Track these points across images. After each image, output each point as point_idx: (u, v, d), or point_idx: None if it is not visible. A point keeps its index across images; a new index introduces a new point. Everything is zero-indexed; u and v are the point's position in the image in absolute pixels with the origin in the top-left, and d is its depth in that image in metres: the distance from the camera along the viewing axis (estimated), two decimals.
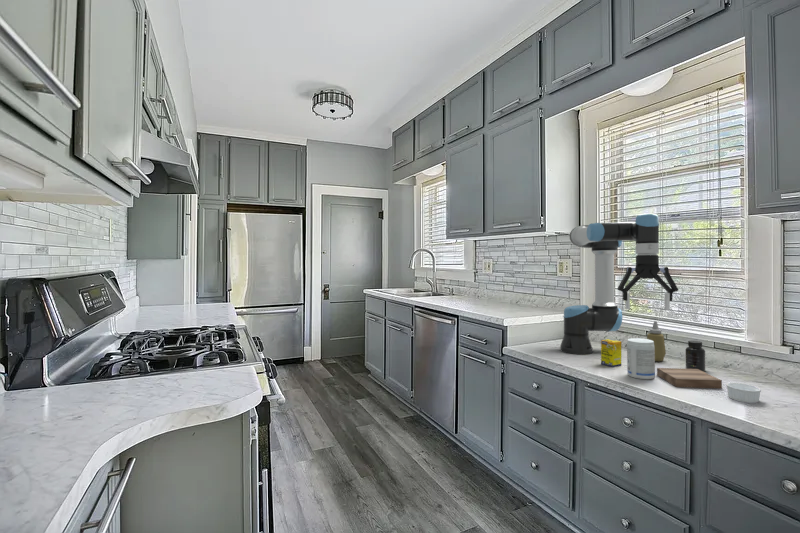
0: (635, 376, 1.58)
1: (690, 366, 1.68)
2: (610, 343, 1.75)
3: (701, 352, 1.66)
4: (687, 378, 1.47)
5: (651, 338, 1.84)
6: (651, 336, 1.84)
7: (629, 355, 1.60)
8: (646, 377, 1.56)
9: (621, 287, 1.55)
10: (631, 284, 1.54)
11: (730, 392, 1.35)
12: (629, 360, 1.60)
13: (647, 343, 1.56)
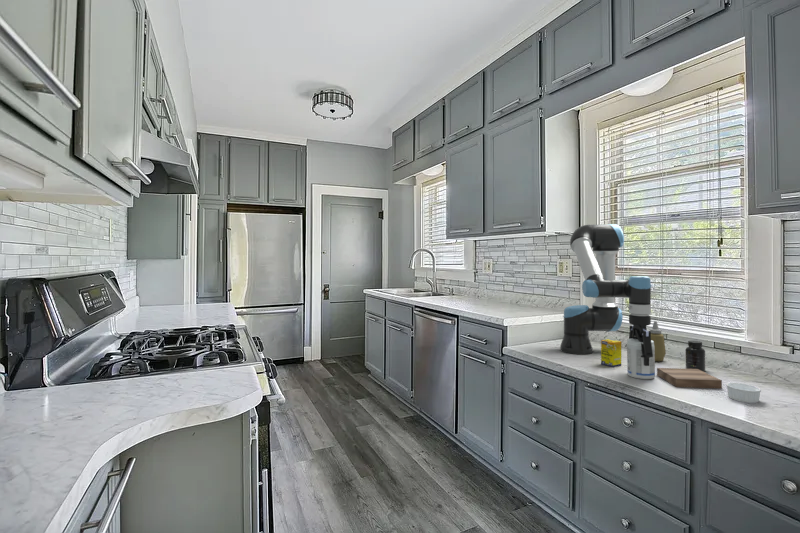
0: (635, 376, 1.58)
1: (690, 366, 1.68)
2: (610, 343, 1.75)
3: (701, 352, 1.66)
4: (687, 378, 1.47)
5: (651, 338, 1.84)
6: (651, 336, 1.84)
7: (629, 355, 1.60)
8: (646, 377, 1.56)
9: None
10: None
11: (730, 392, 1.35)
12: (629, 360, 1.60)
13: None
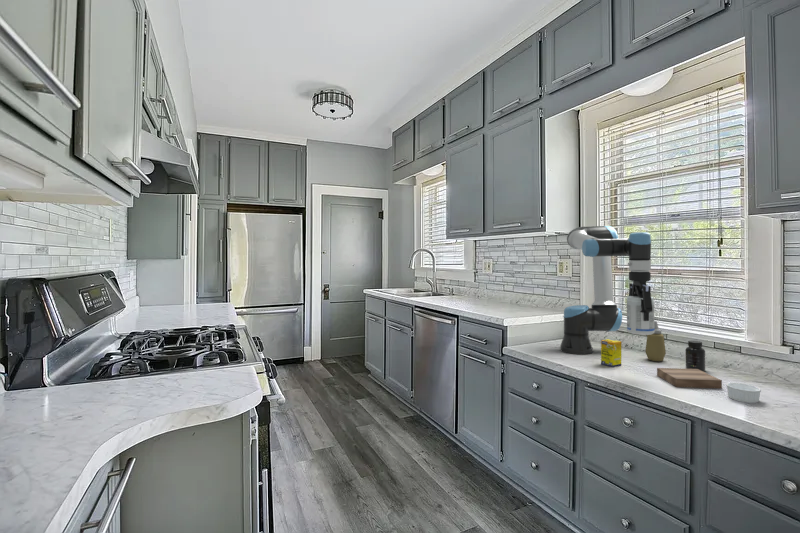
0: (634, 332, 1.58)
1: (690, 366, 1.68)
2: (610, 343, 1.75)
3: (701, 352, 1.66)
4: (687, 378, 1.47)
5: (651, 338, 1.84)
6: (651, 336, 1.84)
7: (629, 312, 1.60)
8: (645, 332, 1.56)
9: None
10: None
11: (730, 392, 1.35)
12: (629, 317, 1.60)
13: None
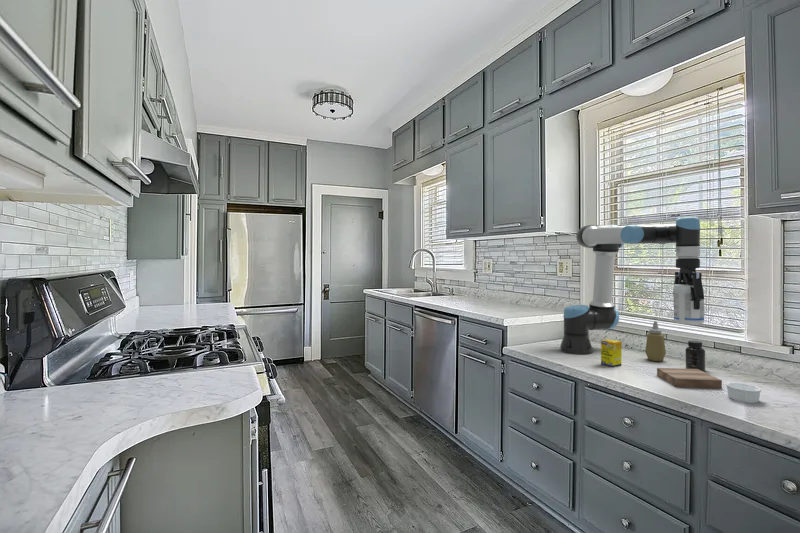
0: (683, 321, 1.50)
1: (690, 366, 1.68)
2: (610, 343, 1.75)
3: (701, 352, 1.66)
4: (687, 378, 1.47)
5: (651, 338, 1.84)
6: (651, 336, 1.84)
7: (676, 300, 1.52)
8: (696, 322, 1.48)
9: None
10: None
11: (730, 392, 1.35)
12: (676, 305, 1.52)
13: None
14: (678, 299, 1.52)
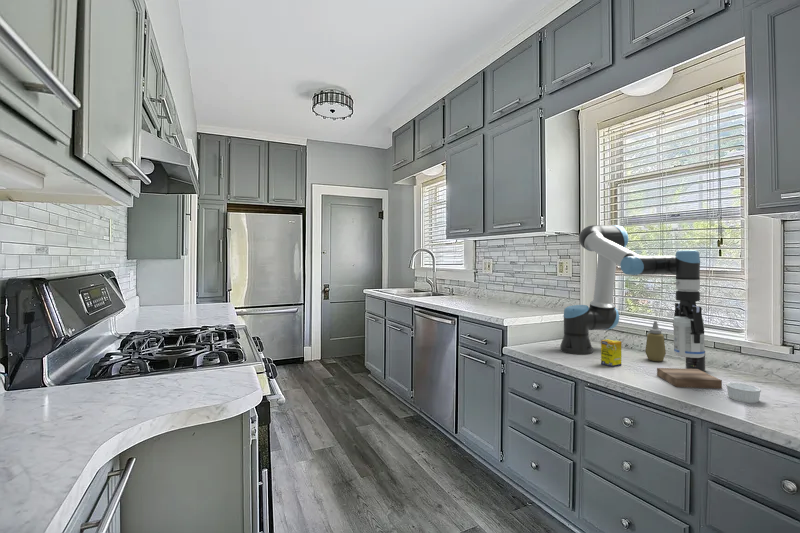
0: (684, 355, 1.50)
1: (690, 366, 1.68)
2: (610, 343, 1.75)
3: None
4: (687, 378, 1.47)
5: (651, 338, 1.84)
6: (651, 336, 1.84)
7: (677, 333, 1.52)
8: (696, 355, 1.48)
9: None
10: None
11: (730, 392, 1.35)
12: (677, 338, 1.53)
13: None
14: (678, 332, 1.52)
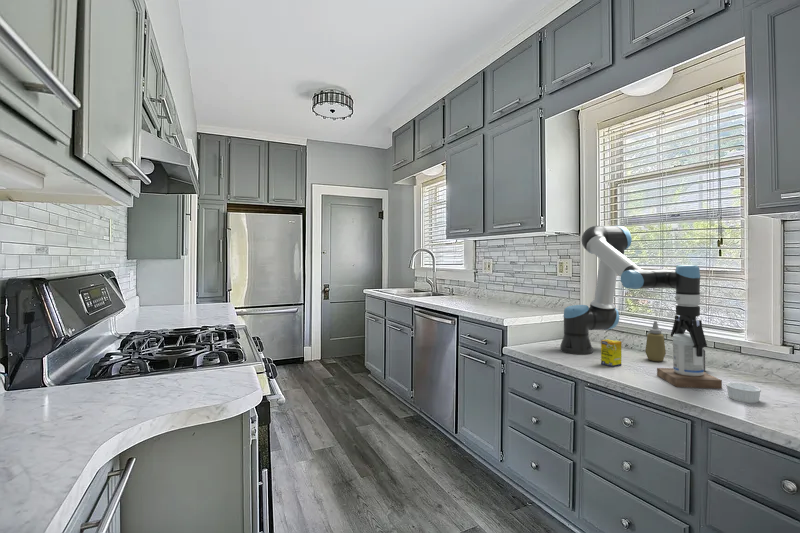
0: (683, 373, 1.51)
1: None
2: (610, 343, 1.75)
3: None
4: (687, 378, 1.47)
5: (651, 338, 1.84)
6: (651, 336, 1.84)
7: (676, 351, 1.53)
8: (695, 374, 1.49)
9: (671, 333, 1.62)
10: (676, 332, 1.59)
11: (730, 392, 1.35)
12: (676, 356, 1.53)
13: None
14: (677, 350, 1.52)
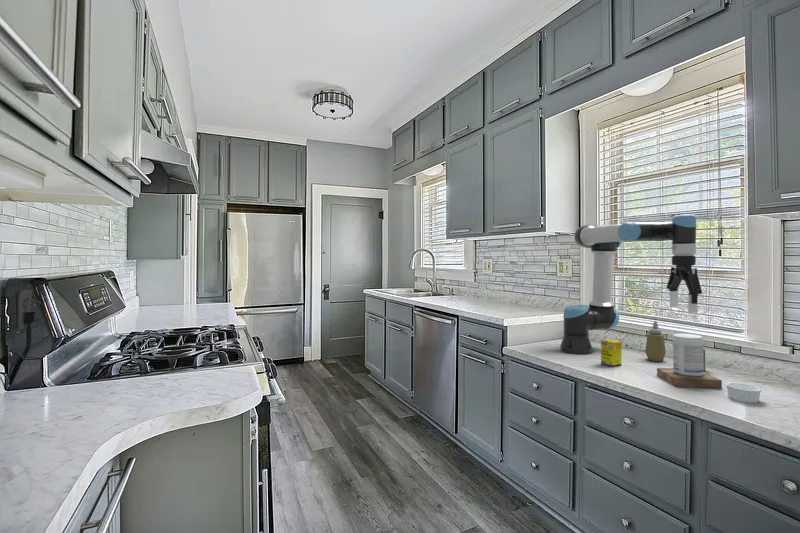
0: (683, 373, 1.51)
1: None
2: (610, 343, 1.75)
3: None
4: (687, 378, 1.47)
5: (651, 338, 1.84)
6: (651, 336, 1.84)
7: (676, 351, 1.53)
8: (695, 374, 1.49)
9: (667, 285, 1.64)
10: (672, 283, 1.61)
11: (730, 392, 1.35)
12: (676, 356, 1.53)
13: (696, 338, 1.49)
14: (678, 350, 1.52)
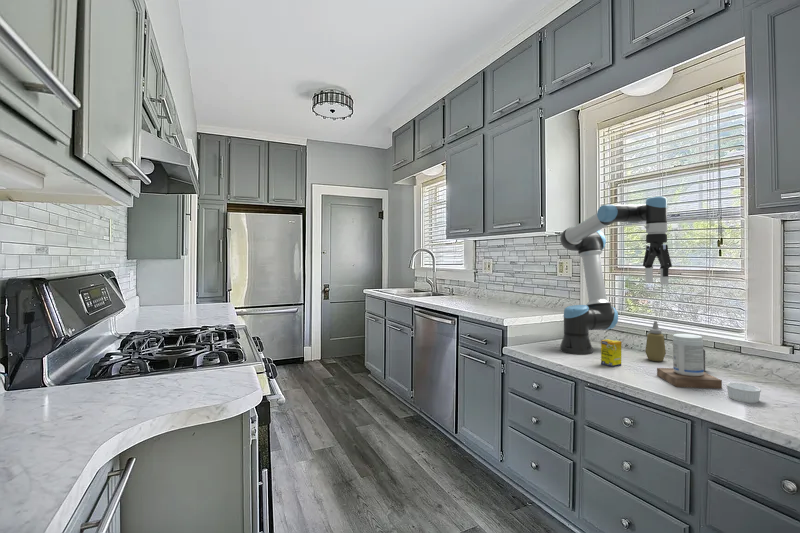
0: (683, 373, 1.51)
1: None
2: (610, 343, 1.75)
3: None
4: (687, 378, 1.47)
5: (651, 338, 1.84)
6: (651, 336, 1.84)
7: (676, 351, 1.53)
8: (695, 374, 1.49)
9: (643, 263, 1.78)
10: (647, 260, 1.75)
11: (730, 392, 1.35)
12: (676, 356, 1.53)
13: (696, 338, 1.49)
14: (677, 350, 1.52)
